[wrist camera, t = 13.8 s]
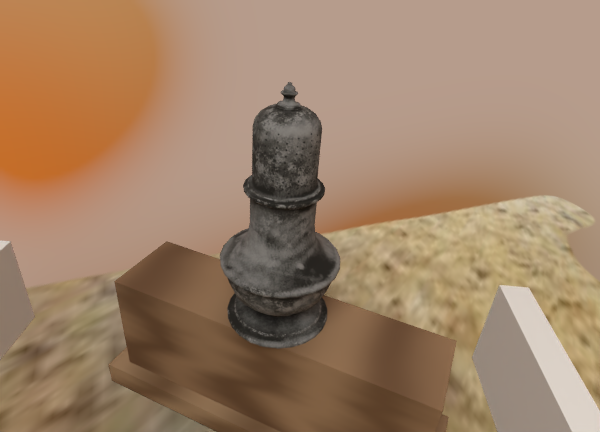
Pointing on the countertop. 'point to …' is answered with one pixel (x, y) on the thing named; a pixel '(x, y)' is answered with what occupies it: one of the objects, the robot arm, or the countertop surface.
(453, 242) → the countertop surface
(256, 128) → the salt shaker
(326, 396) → the ridge
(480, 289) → the countertop surface
